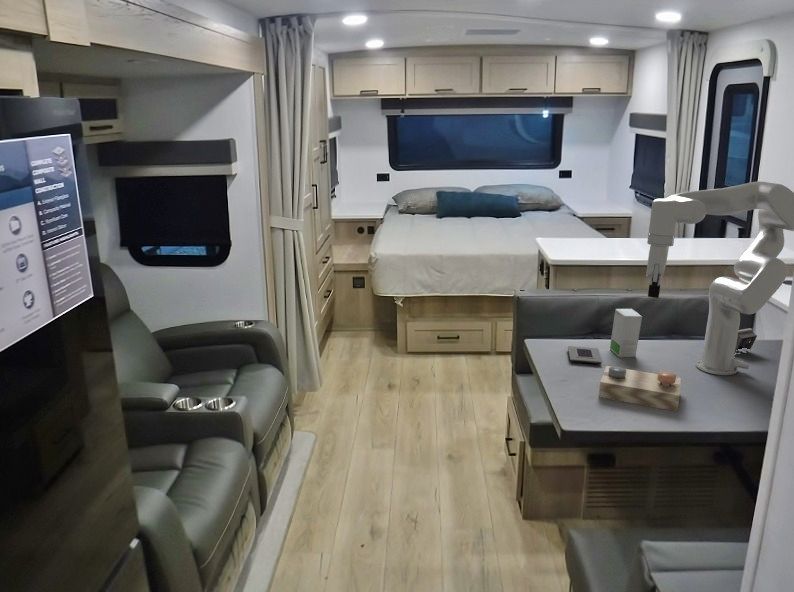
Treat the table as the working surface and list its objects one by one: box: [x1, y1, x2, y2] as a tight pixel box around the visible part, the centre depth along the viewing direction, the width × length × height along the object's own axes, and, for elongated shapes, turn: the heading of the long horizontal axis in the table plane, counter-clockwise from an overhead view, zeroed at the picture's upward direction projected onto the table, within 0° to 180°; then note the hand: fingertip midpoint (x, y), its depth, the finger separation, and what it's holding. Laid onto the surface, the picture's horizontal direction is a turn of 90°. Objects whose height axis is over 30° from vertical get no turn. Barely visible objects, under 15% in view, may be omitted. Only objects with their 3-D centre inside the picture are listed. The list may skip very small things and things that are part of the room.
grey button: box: [608, 365, 627, 378], centre depth 198 cm, size 5×5×6 cm
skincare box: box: [609, 308, 643, 358], centre depth 228 cm, size 8×7×16 cm
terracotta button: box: [657, 371, 677, 386], centre depth 192 cm, size 5×5×6 cm
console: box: [598, 365, 682, 412], centre depth 195 cm, size 22×14×5 cm, turn 66°
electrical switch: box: [735, 327, 758, 352], centre depth 230 cm, size 9×5×9 cm, turn 113°
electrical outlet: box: [567, 345, 603, 365], centre depth 225 cm, size 13×10×2 cm
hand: (653, 296), depth 202 cm, fingers closed
